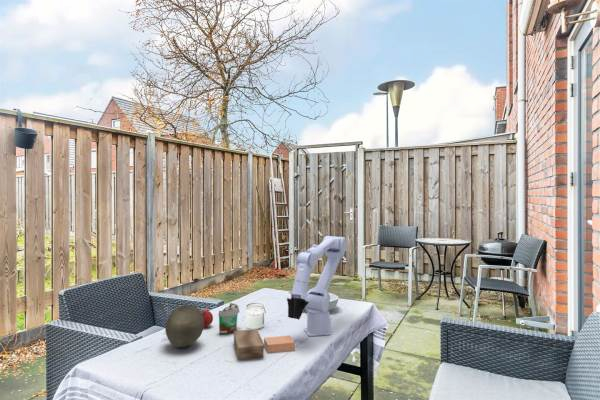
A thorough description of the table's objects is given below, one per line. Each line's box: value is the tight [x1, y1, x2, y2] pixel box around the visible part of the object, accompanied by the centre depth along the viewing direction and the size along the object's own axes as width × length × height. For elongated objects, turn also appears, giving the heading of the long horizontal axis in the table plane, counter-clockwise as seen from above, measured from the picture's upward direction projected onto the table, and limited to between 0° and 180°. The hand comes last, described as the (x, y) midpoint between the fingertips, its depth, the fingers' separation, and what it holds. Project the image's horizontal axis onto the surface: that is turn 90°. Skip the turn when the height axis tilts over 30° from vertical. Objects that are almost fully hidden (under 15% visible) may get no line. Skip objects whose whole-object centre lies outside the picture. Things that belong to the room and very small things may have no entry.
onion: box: [201, 308, 214, 328], centre depth 154 cm, size 6×6×8 cm
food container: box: [218, 302, 240, 336], centre depth 150 cm, size 12×6×10 cm, turn 168°
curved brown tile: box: [233, 328, 265, 360], centre depth 131 cm, size 9×16×5 cm, turn 16°
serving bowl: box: [304, 291, 339, 312], centre depth 183 cm, size 21×21×7 cm
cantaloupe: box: [164, 304, 205, 348], centre depth 134 cm, size 14×14×15 cm
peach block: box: [263, 335, 296, 354], centre depth 134 cm, size 10×7×3 cm
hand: (293, 318), depth 136 cm, fingers open, 7 cm apart
